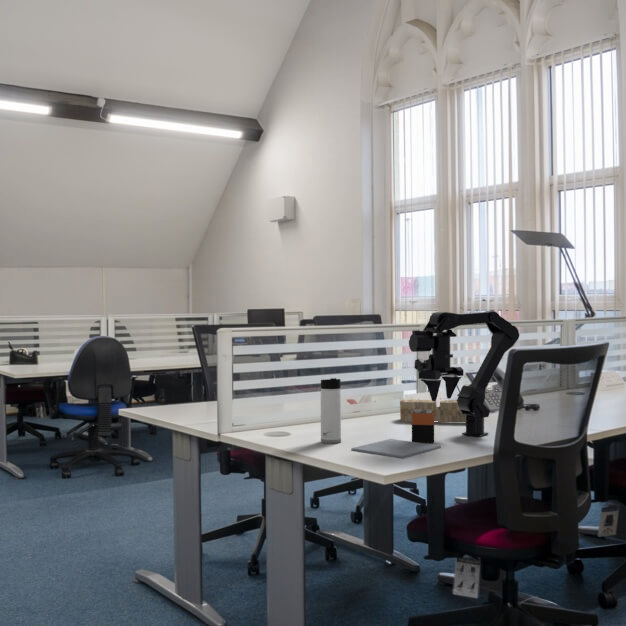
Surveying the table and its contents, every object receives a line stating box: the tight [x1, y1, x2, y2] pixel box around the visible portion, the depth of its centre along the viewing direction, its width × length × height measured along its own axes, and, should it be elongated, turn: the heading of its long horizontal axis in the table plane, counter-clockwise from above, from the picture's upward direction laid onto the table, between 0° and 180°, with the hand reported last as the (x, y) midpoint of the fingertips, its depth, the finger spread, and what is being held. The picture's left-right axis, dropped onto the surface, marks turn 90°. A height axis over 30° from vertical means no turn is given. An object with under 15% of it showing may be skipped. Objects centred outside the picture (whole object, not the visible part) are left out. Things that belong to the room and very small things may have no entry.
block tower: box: [399, 398, 466, 423], centre depth 268 cm, size 8×8×29 cm
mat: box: [351, 438, 442, 459], centre depth 215 cm, size 20×18×1 cm
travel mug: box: [320, 377, 342, 445], centre depth 227 cm, size 6×7×20 cm
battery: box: [411, 409, 435, 444], centre depth 226 cm, size 4×7×10 cm, turn 80°
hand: (441, 399), depth 234 cm, fingers open, 9 cm apart
